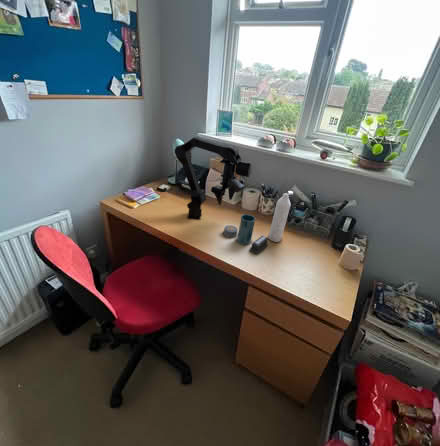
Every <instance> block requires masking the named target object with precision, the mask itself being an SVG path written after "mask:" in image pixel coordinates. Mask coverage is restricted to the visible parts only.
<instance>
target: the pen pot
mask: <svg viewBox="0 0 440 446" xmlns="http://www.w3.org/2000/svg"><path fill="white" fill-rule="evenodd" d="M255 222H256V217H255V216H254V215H252V214H248V213H247V214H242V215H241V216H240V220H239V226H238V231H237V239H236V240H237V242H238V243H239V244H241V245H249V244H251V242H252V238H253V232H254V229H255V228H254V227H255Z"/></svg>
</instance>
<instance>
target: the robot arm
mask: <svg viewBox="0 0 440 446" xmlns="http://www.w3.org/2000/svg"><path fill="white" fill-rule="evenodd" d="M195 148H198V149H201V150H204V151H208V152H211V153H214V154H217V155H218V156H220V157H221V158H222V159H221V160H219V163H220V164H223V167H222V168H223V169H222V173H220V177H221V181H220V182H219V184H216V185H213V186H212V187H211V188H210V192H211V193H213V194H214V197H215V198H216V201H217V204H218V205H219V206H221V205H222V202H223V197H224V196H226V190H227V191H228V199H229V200H230V201H232V200H233V197H234V195H235V193H237V194H238V193H239V192H242V190H243V189H244V188H245V185H246V181H245V180H244V179H237V176H239V177H245V178H250V176H251V173H252V162H251V161H243V160H242V157H241V155H240V152H239V148H238V147H237V146H236V145H233V144H220V143H217V142H214V141H210V140H207V139H205V138H204V139H203V138H200V137H198V136H195V137H193V138H191V139H189V140H188V141H187V142H185V143H182V144H180V145H176V147H175V148H174V155H175V156H176V159H177V161H179V162H180V164H181V165H182V167H183V171H184V174H185V177H186V180H187V183H188V185H189V186H188V187H189V189H190V199H191V200H190V202H188V203H187V204H186V205H187V209H188V216H187V219H193V220H200V219H201V217H202V212H203V208H202V205H203V204H204V203H205V202H206V200H207V194H206V191H205V189H201V188H200V185H199V182H198V179H197V175H196V173H195V169H194V165H193V163H192V150H193V149H195Z"/></svg>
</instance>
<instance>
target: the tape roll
mask: <svg viewBox="0 0 440 446" xmlns="http://www.w3.org/2000/svg"><path fill="white" fill-rule="evenodd" d="M223 229H224V230H223V235H224V236H225V237H227V238H235V237H236V236H238V227H236V226H235V225H231V224H230V225H225V226H224V228H223Z"/></svg>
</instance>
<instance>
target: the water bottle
mask: <svg viewBox="0 0 440 446" xmlns="http://www.w3.org/2000/svg"><path fill="white" fill-rule="evenodd" d="M293 195H294V191H292V190H288V191H287V192H284V193H283V194H282V196H281V197H280V198H279V199H278V200H277V201H276V203H275V209H274V213H273V217H272V219H271V220H272V221H271V225H270V228H269V233H268V237H267V238H268V240H269V241H270V242H273V243H279V242H281V241H282V238H283V234H284V231H285V227H286V223H287V220H288V216H289V213H290V209H291V205H292V204H291V203H292V202H291V200H290V198H289V197H290V196H293Z"/></svg>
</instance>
